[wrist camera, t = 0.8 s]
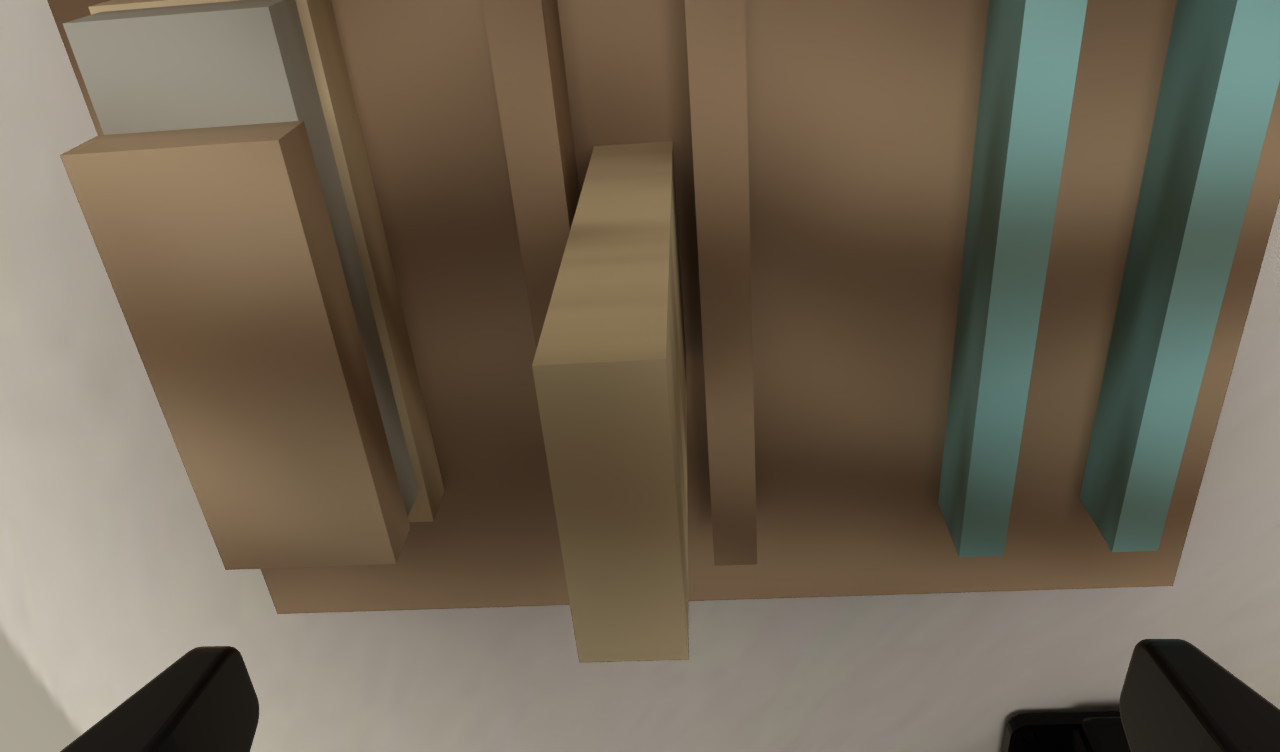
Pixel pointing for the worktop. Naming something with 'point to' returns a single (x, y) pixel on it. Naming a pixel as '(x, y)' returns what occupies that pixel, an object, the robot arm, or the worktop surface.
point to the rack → (831, 276)
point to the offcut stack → (256, 274)
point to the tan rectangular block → (620, 410)
